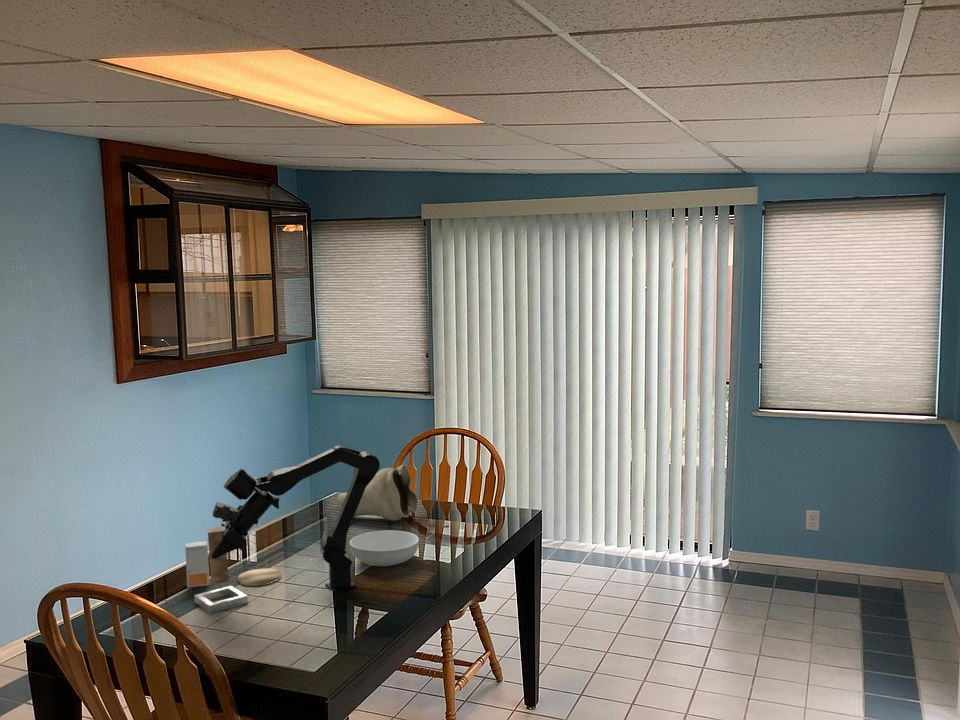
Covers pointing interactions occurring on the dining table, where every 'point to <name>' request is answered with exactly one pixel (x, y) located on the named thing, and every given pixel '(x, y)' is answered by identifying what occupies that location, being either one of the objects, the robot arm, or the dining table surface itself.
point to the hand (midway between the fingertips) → (212, 555)
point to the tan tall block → (219, 564)
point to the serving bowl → (384, 547)
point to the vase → (387, 495)
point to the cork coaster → (258, 577)
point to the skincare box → (197, 564)
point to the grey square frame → (211, 607)
